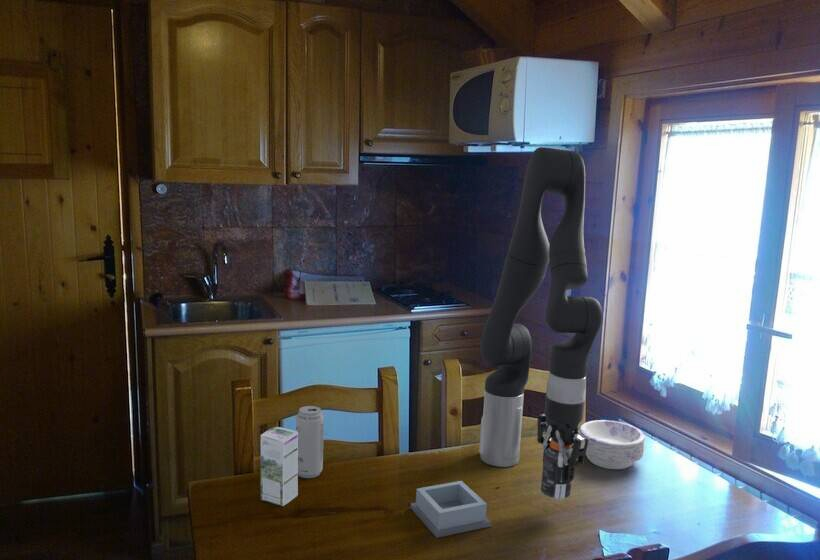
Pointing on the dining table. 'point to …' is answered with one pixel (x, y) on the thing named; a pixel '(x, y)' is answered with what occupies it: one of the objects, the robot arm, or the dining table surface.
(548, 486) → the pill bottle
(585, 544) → the dining table surface
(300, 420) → the energy drink can
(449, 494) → the holder
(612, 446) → the paper bowls
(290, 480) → the syrup box
